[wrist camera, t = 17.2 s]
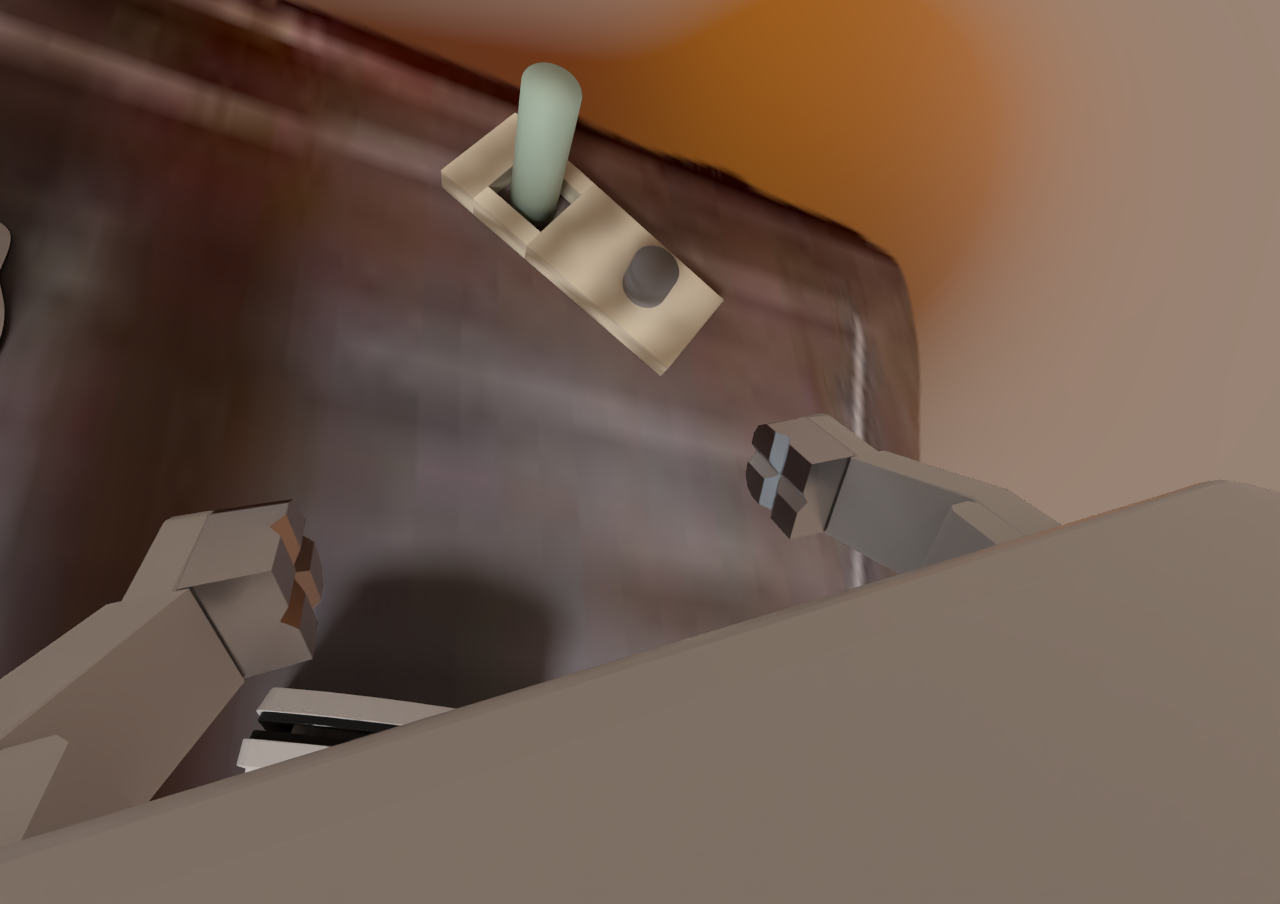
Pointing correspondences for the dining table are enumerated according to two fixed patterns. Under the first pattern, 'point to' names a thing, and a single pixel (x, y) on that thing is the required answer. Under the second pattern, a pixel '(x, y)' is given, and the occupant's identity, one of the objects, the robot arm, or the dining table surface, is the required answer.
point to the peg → (543, 140)
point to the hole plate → (590, 253)
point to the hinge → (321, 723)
